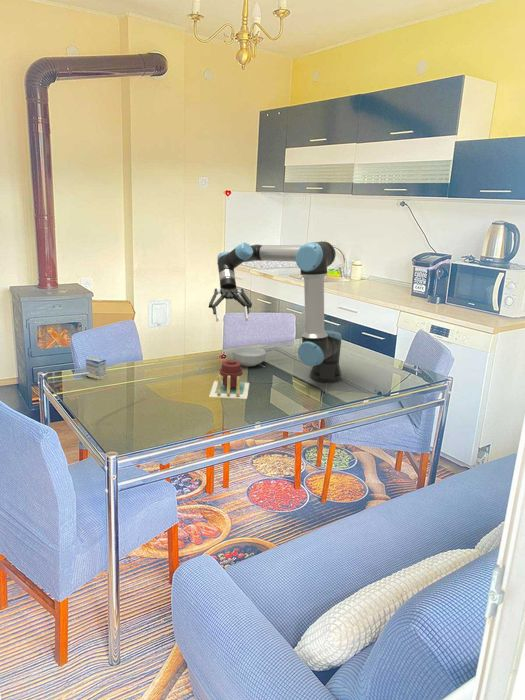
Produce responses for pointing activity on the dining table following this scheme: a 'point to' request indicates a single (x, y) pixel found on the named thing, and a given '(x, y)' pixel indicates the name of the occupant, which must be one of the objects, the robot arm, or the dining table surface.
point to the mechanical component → (231, 372)
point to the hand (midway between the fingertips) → (232, 319)
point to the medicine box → (96, 366)
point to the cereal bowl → (249, 355)
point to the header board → (243, 391)
